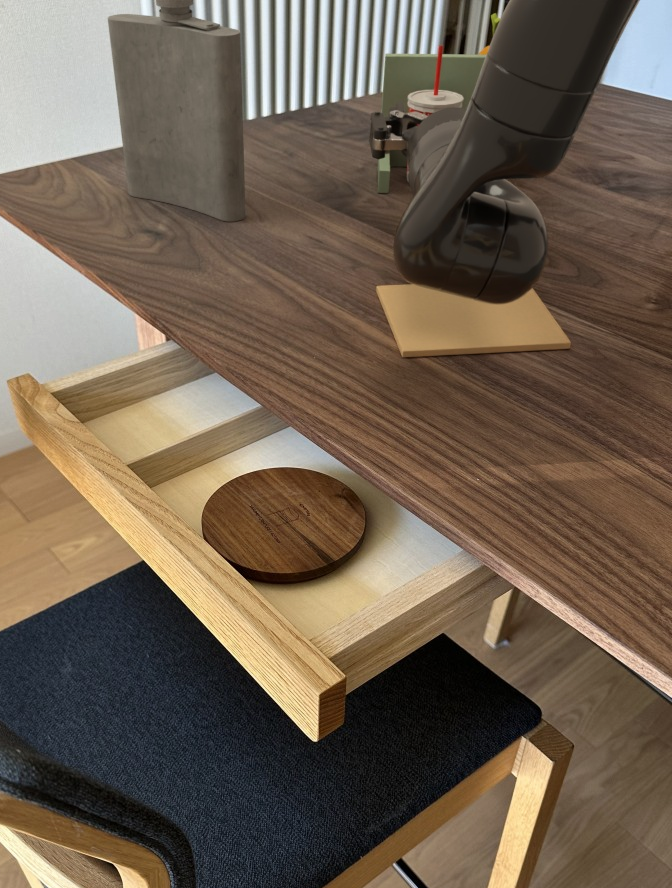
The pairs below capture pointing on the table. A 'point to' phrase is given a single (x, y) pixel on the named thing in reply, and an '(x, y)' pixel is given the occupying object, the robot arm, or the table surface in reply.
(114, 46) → the hip flask
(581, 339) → the table surface
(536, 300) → the cork mat
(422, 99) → the beverage cup
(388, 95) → the tablet stand
